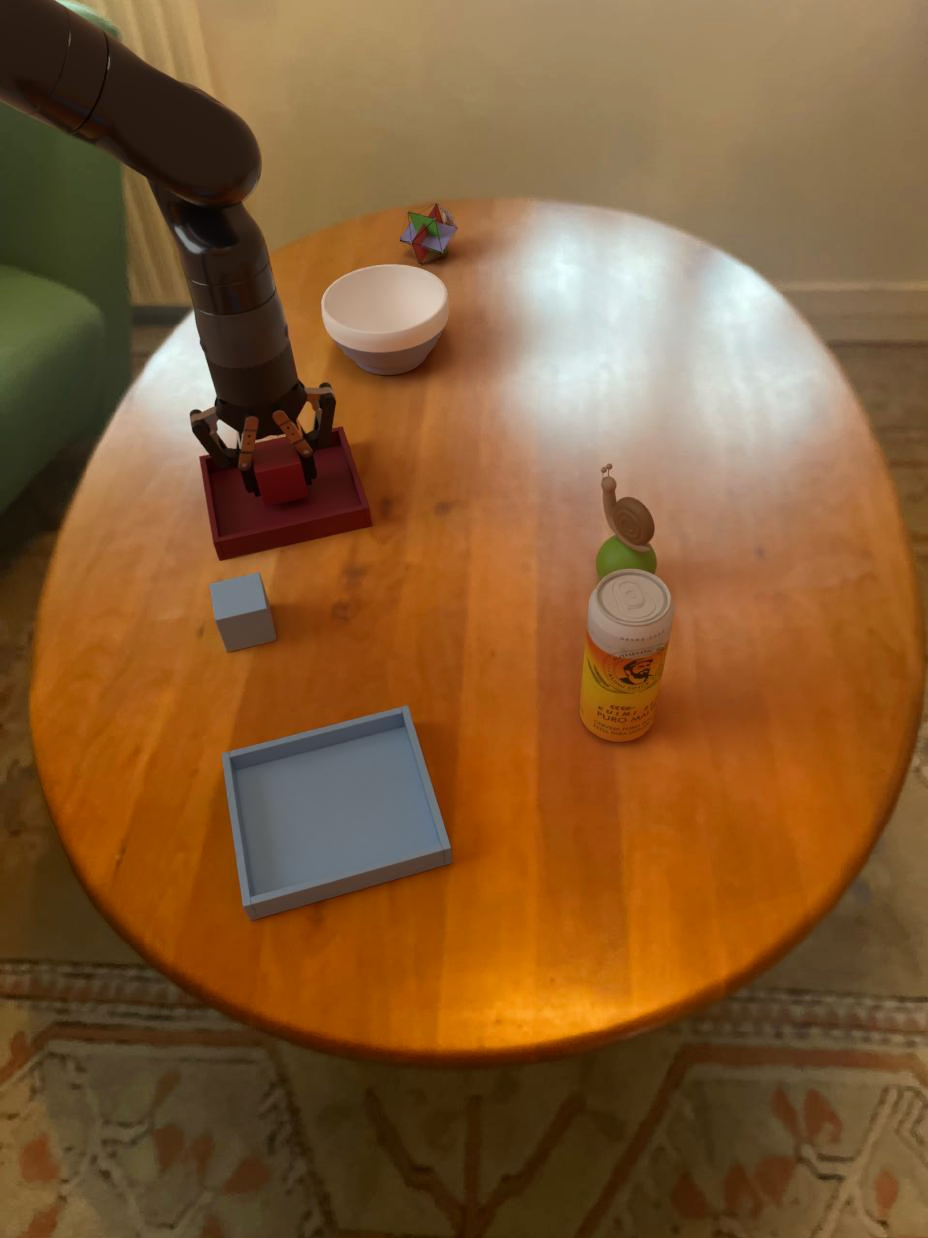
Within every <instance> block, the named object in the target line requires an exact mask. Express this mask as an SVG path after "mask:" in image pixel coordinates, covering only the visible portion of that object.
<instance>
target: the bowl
mask: <svg viewBox="0 0 928 1238" xmlns="http://www.w3.org/2000/svg"><path fill="white" fill-rule="evenodd" d="M449 298H450V297H449V294H448V289H447V286H446V285H445V284H444V282H443V280H442V279H440V278H439V277H438V276H437V275H435V274H434V273H432V272H430V271H429V270H426V269H423V268H420V267H417V266H412V265H407V264H397V263H395V264H394V263H393V264H388V263H386V264H385V263H384V264H378V265H370V266H366V267H361V268H358V269H355V270H353V271H350V272H349V273H348V272H347V273H346V274H344V275H342V276H341V277H339V278H337V279H336V280H334V281H333V282H332V283H331V284H330V285H329V286H328V287H327V288H326V290H325V292H324V293H323V294H322V298H321V300H320V302H321V303H320V304H321V305H320V306H321V318H322V321H323V325H324V328H325V331H326V332H327V334H328V335H329V336H330V337H331V339H332V341H333V342H334V343H335V344H336V345H337V346H338V347H339V349H341V351H342V352H343V353H344V354H345V356H347V357H348V358H349V359H351V360H352V361H354V362H355V364H356V365H357V366H358V367H359V368H361V370H363V371H365V372H367V373H370V374H374V375H381V376H393V375H394V376H395V375H401V374H405V373H408V372H410V371H412V370H415V369H417V368H418V367H419V366H420V365H422V364H423V363H424V362H425V360H426V358H427V356H428V355H429V354H430V352H431V351H432V350H433V349H434V347H435V346H436V345H437V344H438V341H439V338H440V337H441V336H442V333H443V331H444V330H445V327H446V325H447V322H448V320H449V315H450V299H449Z"/></svg>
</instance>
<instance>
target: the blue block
mask: <svg viewBox="0 0 928 1238" xmlns="http://www.w3.org/2000/svg"><path fill="white" fill-rule="evenodd" d="M261 575H262V574H261V572H260V571H258V572H254V573H250V574H249V573H248V574H245V575H241V576H235V577H232V578H228V579H224V580H220V581H215V582H211V583H209V590H210V597H211V603H212V610H213V617H214V622H215V625H216V627H217V630H218V632H219V635H220V637H221V640H222V643H223V646H224V648H225V652H226V653H230V652H235V651H239V650H243V649H246V648H250V647H251V648H252V647H256V646H259V645H263V644H267V643H271V642H275V641H277V634H276V629H275V625H274V619H273V615H272V609H271V605H270V601H269V598H268V595H267V591H266V588H265V585H264V582H263V578H262V576H261Z"/></svg>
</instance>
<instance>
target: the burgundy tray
mask: <svg viewBox="0 0 928 1238" xmlns="http://www.w3.org/2000/svg"><path fill="white" fill-rule="evenodd" d="M313 457H314V461H315V466H316V471H317V477H316V478H315V479H311V480H312V485H308V486H307V491H308V495H309V496H308V497H306V498H301V499H297V500H292V501H288V502H283V503H279V504H274V505H270V506H264V504H263V500H262V497H261V496H258V497H255V494H254V492H252V493H248V492H247V491H246V488H245V485H244V481H243V478H242V475H241V471H240V470H239V469H238V468H235V467H230V469H228V470H221V469H220V468H219V467H218V466H217V464H216V463H215V462H214V460H213V459H212V458H211V456H210V455H209V454H205V455H199V457H198V459H199V465H200V470H201V478H202V482H203V488H204V494H205V500H206V501H205V502H206V507H207V514H208V519H209V526H210V533H211V538H212V544H213V547H214V550H215V552H216V556H217V557H218V561H225V560H228V559H234V558H237V557H241V556H247V555H250V554H254V553H259V552H264V551H267V550H271V549H277V548H280V547H281V548H282V547H286V546H289V545H293V544H294V545H295V544H299V543H302V542H307V541H311V540H315V539H320V538H325V537H330V536H332V535H337V534H342V533H346V532H350V531H355V530H360V529H364V528H369V527H372V526H373V522H372V517H371V511H370V510H371V509H370V506H369V503H368V499H367V496H366V493H365V490H364V487H363V485H362V481H361V477H360V475H359V472H358V468H357V465H356V462H355V458H354V457H353V453H352V450H351V447H350V444H349V441H348V438H347V434H346V432H345V429H344V425H343V426H336V427H332V433H331V439H330V445H329V446H328V447H327V448H325V449H321V448H319V449H317V450H316V451H315V452H314V454H313Z"/></svg>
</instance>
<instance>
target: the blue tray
mask: <svg viewBox="0 0 928 1238" xmlns="http://www.w3.org/2000/svg"><path fill="white" fill-rule="evenodd" d="M221 762H222V767H223V768H222V769H223V775H224V783H225V790H226V798H227V803H228V804H227V805H228V811H229V819H230V825H231V831H232V832H231V833H232V839H233V846H234V847H233V848H234V854H235V861H236V868H237V874H238V875H237V876H238V881H239V888H240V889H239V890H240V895H241V903H242V907H243V909H244V911H245V913H246V916H247V917H248V919H249V920H250V921H255V920H258V919H261V918H265V917H268V916H272V915H276V914H279V913H282V912H286V911H290V910H293V909H297V908H300V907H303V906H307V905H310V904H314V903H317V902H321V901H324V900H328V899H331V898H335V897H338V896H342V895H346V894H349V893H352V892H357V891H359V890H363V889H366V888H370V887H374V886H377V885H381V884H384V883H388V882H391V881H395V880H398V879H402V878H405V877H409V876H412V875H416V874H419V873H422V872H427V871H430V870H433V869H437V868H440V867H443V866H447V865H450V864H453V863H454V861H453V852H452V845H451V842H450V839H449V835H448V831H447V830H446V829H447V828H446V826H445V823H444V819H443V816H442V813H441V809H440V806H439V802H438V799H437V797H436V796H437V795H436V793H435V790H434V786H433V783H432V780H431V775H430V773H429V770H428V767H427V763H426V760H425V757H424V753H423V750H422V747H421V744H420V740H419V737H418V733H417V730H416V727H415V724H414V721H413V718H412V714H411V711H410V707H409V705H408V704H407V705H403V706H401V707H395V708H392V709H387V710H384V711H381V712H376V713H373V714H369V715H368V714H367V715H365V716H361V717H357V718H353V719H349V720H345V721H341V722H338V723H334V724H329V725H327V726H322V727H318V728H314V729H310V730H307V731H303V732H298V733H296V734H291V735H288V736H283V737H280V738H275V739H272V740H268V741H264V742H261V743H257V744H253V745H249V746H245V747H241V748H237V749H233V750H229V751H225V752H222V753H221Z"/></svg>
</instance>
